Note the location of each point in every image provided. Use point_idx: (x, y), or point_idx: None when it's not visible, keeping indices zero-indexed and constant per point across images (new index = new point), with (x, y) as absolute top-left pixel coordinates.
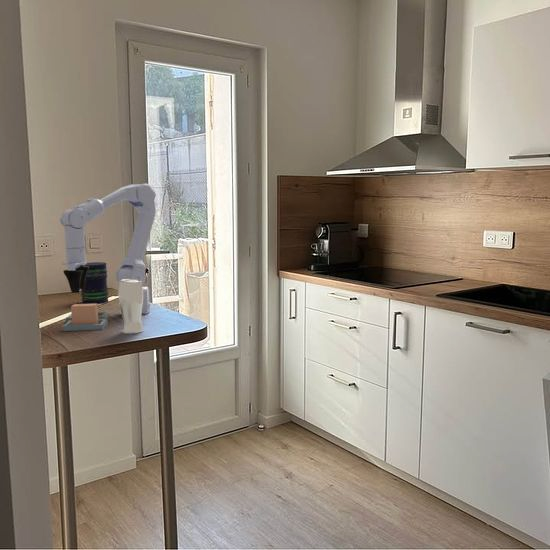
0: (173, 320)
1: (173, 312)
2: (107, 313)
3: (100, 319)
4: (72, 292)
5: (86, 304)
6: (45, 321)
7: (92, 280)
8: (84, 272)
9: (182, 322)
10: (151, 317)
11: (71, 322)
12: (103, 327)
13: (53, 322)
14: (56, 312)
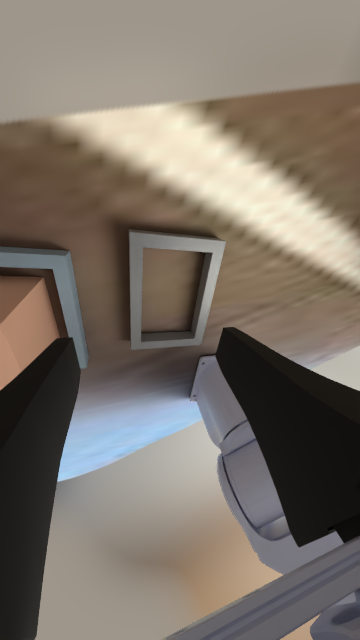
0: (113, 443)
1: (190, 425)
2: (191, 343)
3: (82, 353)
4: (54, 343)
5: (2, 378)
6: (181, 109)
7: None
8: (277, 466)
9: (92, 457)
10: (153, 411)
11: (47, 267)
12: None
13: (146, 162)
14: (353, 150)
